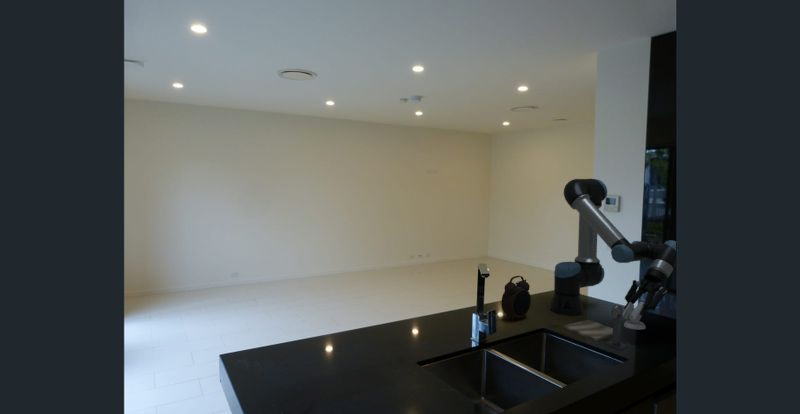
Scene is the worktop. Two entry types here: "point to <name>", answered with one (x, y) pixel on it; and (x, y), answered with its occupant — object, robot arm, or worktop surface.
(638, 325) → the hook
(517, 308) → the alarm clock
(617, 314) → the eye post
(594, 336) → the pad
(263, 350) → the worktop surface
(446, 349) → the worktop surface
